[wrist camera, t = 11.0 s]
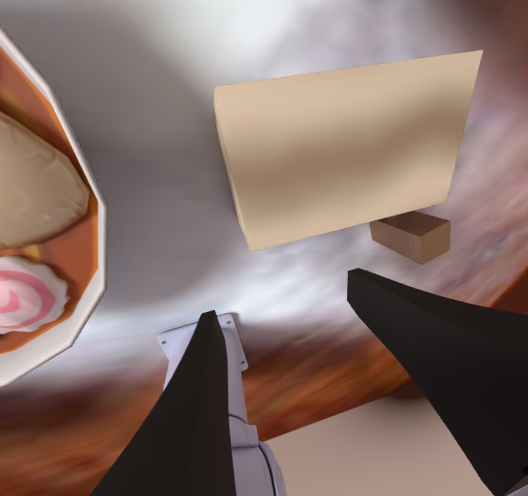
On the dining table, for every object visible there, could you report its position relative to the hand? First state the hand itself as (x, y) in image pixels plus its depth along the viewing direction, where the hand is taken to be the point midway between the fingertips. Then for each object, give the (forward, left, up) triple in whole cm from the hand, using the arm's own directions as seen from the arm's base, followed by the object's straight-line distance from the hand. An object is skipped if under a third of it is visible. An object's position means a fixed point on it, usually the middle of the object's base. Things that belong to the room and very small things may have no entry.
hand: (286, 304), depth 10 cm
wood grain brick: (+2, -13, -10) cm, 17 cm away
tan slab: (+6, -6, -10) cm, 13 cm away
